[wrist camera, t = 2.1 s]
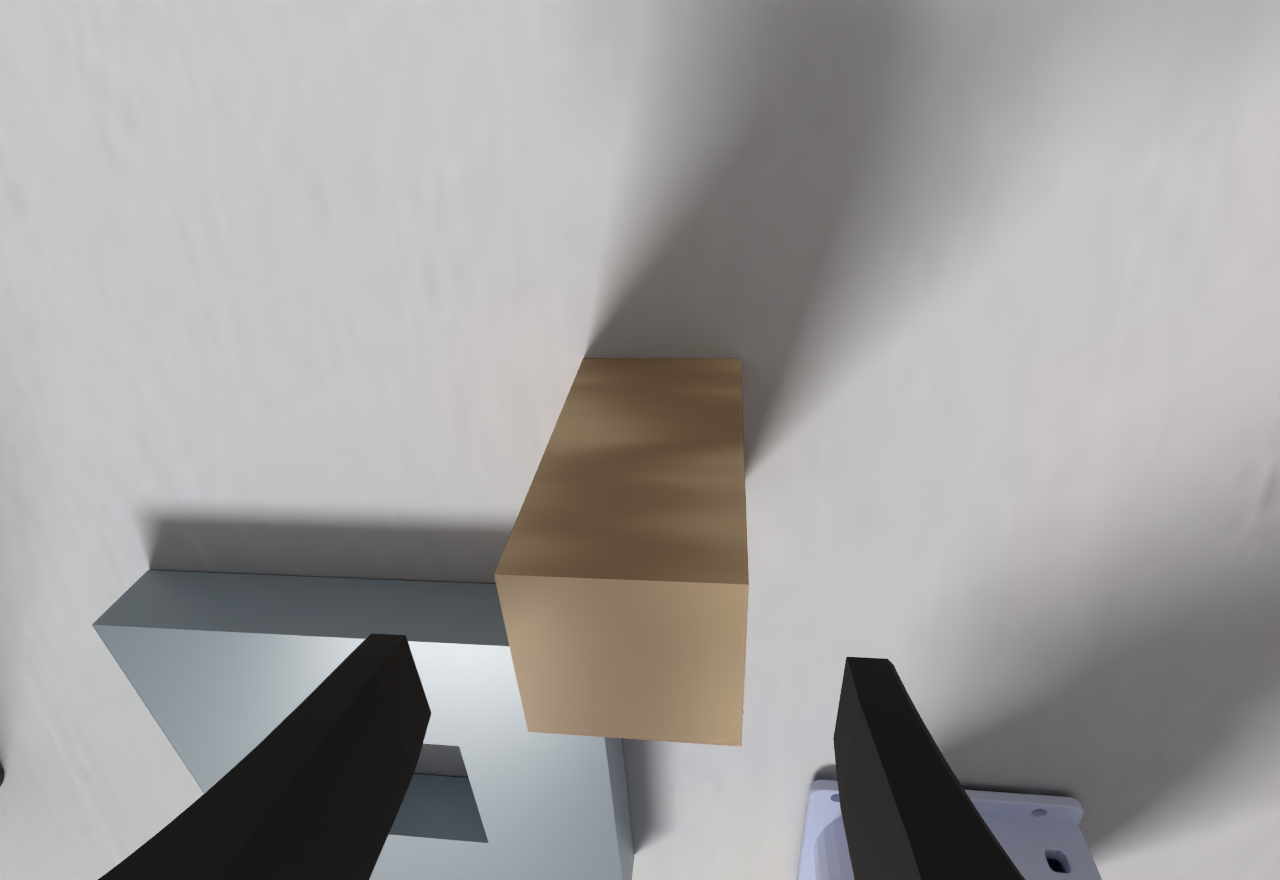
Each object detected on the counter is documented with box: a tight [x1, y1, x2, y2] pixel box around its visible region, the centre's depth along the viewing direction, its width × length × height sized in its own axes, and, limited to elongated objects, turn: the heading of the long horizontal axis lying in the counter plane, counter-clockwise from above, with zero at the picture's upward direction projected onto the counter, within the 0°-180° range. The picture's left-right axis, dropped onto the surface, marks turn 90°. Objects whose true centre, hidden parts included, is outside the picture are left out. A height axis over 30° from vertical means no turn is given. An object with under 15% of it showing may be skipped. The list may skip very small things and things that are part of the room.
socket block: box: [92, 570, 634, 880], centre depth 26 cm, size 16×16×2 cm
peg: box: [494, 358, 749, 746], centre depth 15 cm, size 4×4×8 cm
